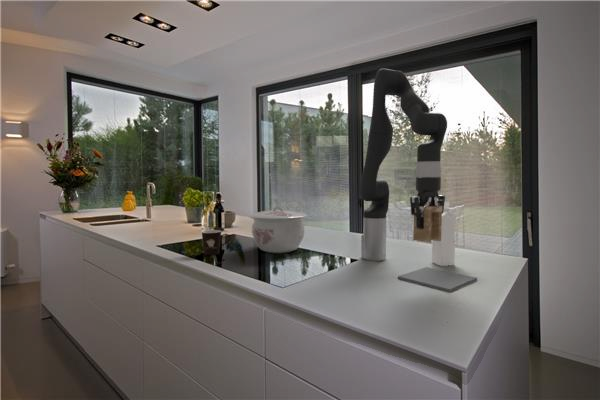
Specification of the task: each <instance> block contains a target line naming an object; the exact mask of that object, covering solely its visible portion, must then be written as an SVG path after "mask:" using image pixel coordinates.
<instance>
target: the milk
mask: <svg viewBox="0 0 600 400" xmlns="http://www.w3.org/2000/svg"><path fill="white" fill-rule="evenodd" d="M456 219H457V218H456V216H455V215H454V214H452V213H450V208H449V207H444V211H443V213H442V225H441V241H434V240H431V243H432V245H431V262H432V263H433V264H434V265H438V266H439V267H447V266H448V265H449V266H455V261H456V260H455V259H456V257H455V255H456V253H455V252H456Z"/></svg>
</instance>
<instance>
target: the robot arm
mask: <svg viewBox="0 0 600 400" xmlns="http://www.w3.org/2000/svg"><path fill="white" fill-rule="evenodd" d="M386 96H391V97H392V96H396V97H398V98H399V99H400V103H399V106H400V108H401V111H402V112H403V113H404V115H405V116H406V117H407V118H408V120H409V123H410V128H411V130H412V132H413V133H415V134H416V135H419V136H429V139H428V141H427V142H422V143H419V145H418V146H417V150H416V151H417V153H416V156H417V158H416V159H417V161H416V169H415V190H416V191H417V194H416V196H410V197H409V202H410V203H409V204H410V212H411V214H410V215H411V216H414V215H415V216H416V223H417V224H416V226H417V228H418V229H423V228H424V218H423V217H424V210H425V209H426V207H427V206H442V213H443V211H444V208H445V200H446V196H445V195H441V194H439V192H440V191H441V189H442V188H441V187H442V186H441V185H442V165H441V157H442V156H441V155H442V153H441V150H442V145H443V142H444V139H445V136H446V132H447V130H448V120H447V117H446V116H445V115H444V114H443V113H441V112H430V108H429V107H430V106H429V105H428V104H427V103H426V102H425V101H424V99H422V98H421V97H420V95H418V94H417V93H416V91H415V89H414V88H413V86H412V84H411V82H410V81H409V79H408V77H407V76H406V74H405V72H403V71H401V70H395V69H389V68H380V69H378V70H377V72H376V74H375V78H374V83H373V96H372V97H373V98H372V109H371V111H372V112H371V118H370V119H371V120H370V126H369V131H368V133H369V134H368V139H367V140H368V141H367V148H366V154H365V160H364V165H363V170H362V175H361V179H360V182H359V183H360V184H359V195H360V198H361V199H362V201H365V202H371V203H370V205H369V207H368V208H366V209H364V210H363V217H362V218H363V220H362V221H363V228H362V229H363V232H362V233H363V234H362V235H361V240H360V241H361V246H360V249H361V250H360V251H361V255H360V256H361V258H363V259H364V260H367V261H373V262H376V261H377V262H378V261H385V260H386V259H387V213H388V211H389V203H390V202H389V201H390V186H389V184H388V181H387V180H386V179H384V178H378V174H379V170H380V166H381V164H382V163H383V161H384V160H385V158H386V157H387V156H388V154H389V152H390V150H391V148H392V144H393V137H394V128H393V124H392V121H391V118H390V117H389V114H388V111H387V108H386V106H387V105H386ZM419 206H424V207H419ZM415 208H416V212H415ZM420 210H422V211H421V213H420Z"/></svg>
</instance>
